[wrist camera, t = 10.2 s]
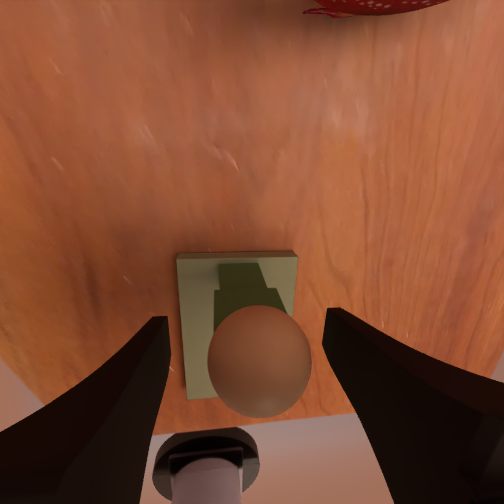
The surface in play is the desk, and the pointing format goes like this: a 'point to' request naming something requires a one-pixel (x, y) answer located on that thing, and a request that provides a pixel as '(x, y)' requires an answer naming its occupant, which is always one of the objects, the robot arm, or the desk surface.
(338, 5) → the decorative bird figurine
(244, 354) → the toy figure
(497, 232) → the desk surface
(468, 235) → the desk surface
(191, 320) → the toy stand
